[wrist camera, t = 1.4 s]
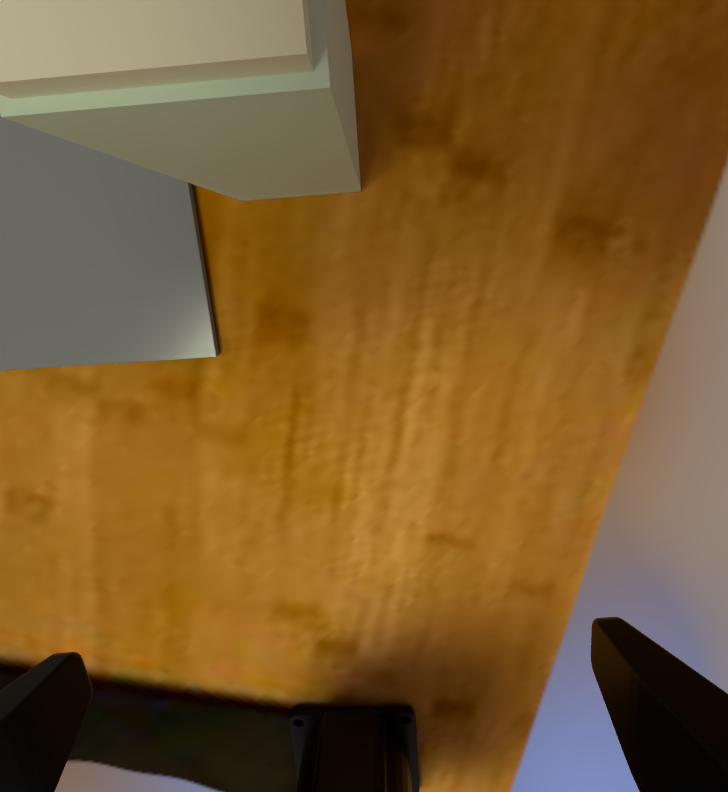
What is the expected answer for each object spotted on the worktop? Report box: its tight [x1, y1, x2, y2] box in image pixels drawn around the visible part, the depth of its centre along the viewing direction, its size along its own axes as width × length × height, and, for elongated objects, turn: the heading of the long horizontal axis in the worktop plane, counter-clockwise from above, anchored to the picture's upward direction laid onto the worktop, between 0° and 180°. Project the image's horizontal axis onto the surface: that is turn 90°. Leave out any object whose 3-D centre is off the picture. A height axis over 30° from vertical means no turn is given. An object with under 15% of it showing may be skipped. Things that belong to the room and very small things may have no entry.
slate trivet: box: [0, 115, 219, 370], centre depth 18 cm, size 14×14×1 cm
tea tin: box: [0, 0, 361, 201], centre depth 11 cm, size 4×4×13 cm
